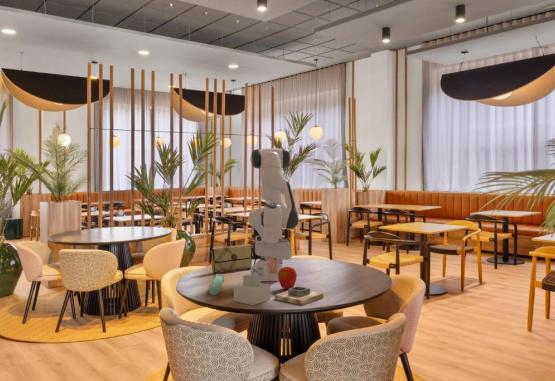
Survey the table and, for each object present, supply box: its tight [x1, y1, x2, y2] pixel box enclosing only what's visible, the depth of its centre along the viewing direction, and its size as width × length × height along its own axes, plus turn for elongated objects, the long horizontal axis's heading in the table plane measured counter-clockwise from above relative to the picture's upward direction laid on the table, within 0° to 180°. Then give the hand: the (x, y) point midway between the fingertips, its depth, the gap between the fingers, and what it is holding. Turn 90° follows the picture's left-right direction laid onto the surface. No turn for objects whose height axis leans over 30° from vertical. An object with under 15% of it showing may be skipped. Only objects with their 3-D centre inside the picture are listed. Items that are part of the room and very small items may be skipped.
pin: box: [269, 256, 278, 273], centre depth 223 cm, size 4×4×8 cm
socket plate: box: [274, 285, 324, 306], centre depth 217 cm, size 16×16×4 cm
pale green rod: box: [208, 273, 225, 296], centre depth 236 cm, size 6×6×25 cm
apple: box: [278, 265, 298, 291], centre depth 235 cm, size 9×9×12 cm
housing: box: [233, 274, 271, 306], centre depth 215 cm, size 12×12×11 cm
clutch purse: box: [209, 243, 257, 274], centre depth 282 cm, size 30×7×15 cm, turn 124°
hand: (273, 266), depth 224 cm, fingers closed on pin, 4 cm apart
